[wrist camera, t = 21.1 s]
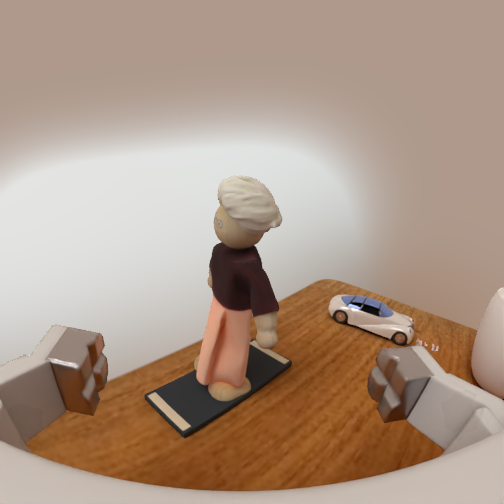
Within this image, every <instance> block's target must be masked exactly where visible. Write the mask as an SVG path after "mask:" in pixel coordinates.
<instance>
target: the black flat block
mask: <svg viewBox="0 0 504 504" xmlns="http://www.w3.org/2000/svg"><path fill="white" fill-rule="evenodd" d="M291 364H292V361H290V360H288V359H286V358H285V357H283V356H281V355H279V354H278V353H276V352H274V351H272V350H271V349H263V348H261V347H259V346H258V344H257V341H255V340H254V339H252V340H251V341H250V346H249V355H248V362H247V368H246V375H245V377H246V378H247V379H248V380H249V382H250V384H251V389H250V391H249V392H248V393H246V394H244V395H242V396H240V397H238V398H236V399H234V400H231V401H219V400H217V399H215V398H213V397H212V396H211V394H210V392H209V391H208V386H209V384H208V385H206V386H205V385H202V384H201V383H200V382H199V381H198V380H197V377H196V374H197V370H194V371H192V372H190V373H188V374H186V375H184V376H182V377H180V378H178V379H176V380H174V381H172V382H170V383H168V384H166V385H164V386H162V387H160V388H158V389H156V390H154V391H152V392H149V393H147V394H145V399H146V400H147V401H148V402H149V403H150V405H151V406H152V407H153V408H154V409H155V410H156V411H157V412H158V413H159V414H160V415H161V416H162V417H163V418H164V419H165V420H166V421H167V422H168V423H169V424H170V425H171V426H172V427H173V428H174V429H175V430H176V431H178V432H179V433H180V434H181V435H182V436H183V437H184V438H185V437H187V436H188V435H190V434H192V433H193V432H195V431H197V430H198V429H200V428H201V427H203V426H205V425H206V424H208V423H209V422H211V421H213V420H214V419H216V418H217V417H219V416H220V415H222V414H223V413H225V412H226V411H228V410H229V409H231V408H232V407H234V406H235V405H237V404H238V403H240V402H241V401H243V400H244V399H246V398H247V397H249V396H250V395H251V394H253V393H254V392H256V391H257V390H259V389H260V388H261V387H263V386H264V385H266V384H267V383H268V382H270V381H271V380H272V379H274V378H275V377H276V376H278V375H279V374H280V373H282V372H283V371H284V370H286V369H287V368H288V367H290V366H291Z"/></svg>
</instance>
